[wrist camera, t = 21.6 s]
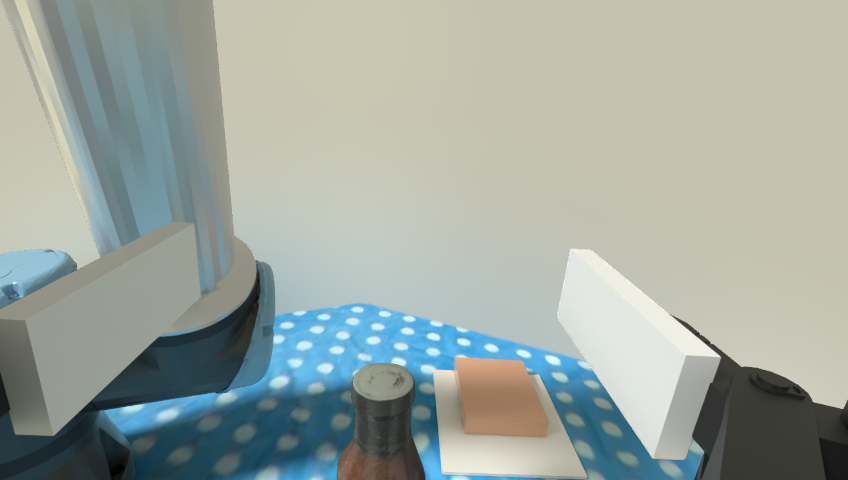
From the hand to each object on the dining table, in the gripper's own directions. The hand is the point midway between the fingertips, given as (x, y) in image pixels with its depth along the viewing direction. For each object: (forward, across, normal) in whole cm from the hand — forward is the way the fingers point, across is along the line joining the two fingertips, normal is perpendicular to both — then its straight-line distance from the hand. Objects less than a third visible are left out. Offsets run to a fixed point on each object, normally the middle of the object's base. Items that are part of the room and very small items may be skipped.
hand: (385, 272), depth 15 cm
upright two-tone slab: (+26, +15, -30) cm, 43 cm away
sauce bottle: (+9, 0, -31) cm, 32 cm away
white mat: (+30, +15, -32) cm, 46 cm away
